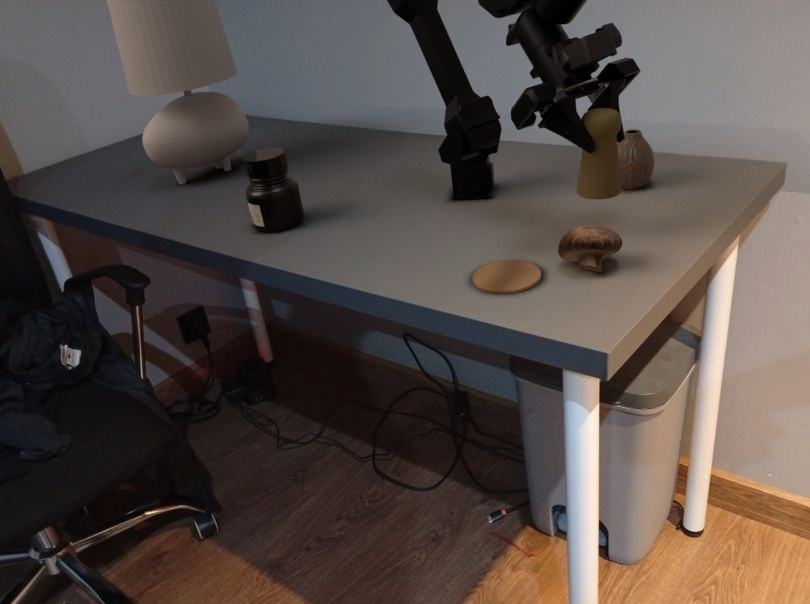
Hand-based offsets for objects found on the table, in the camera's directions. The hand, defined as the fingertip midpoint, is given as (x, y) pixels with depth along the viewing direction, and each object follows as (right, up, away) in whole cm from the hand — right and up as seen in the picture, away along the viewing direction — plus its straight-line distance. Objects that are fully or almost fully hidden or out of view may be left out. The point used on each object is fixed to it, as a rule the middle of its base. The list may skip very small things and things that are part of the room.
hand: (607, 146), depth 96 cm
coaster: (-13, -17, +1) cm, 22 cm away
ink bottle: (-48, -5, +30) cm, 57 cm away
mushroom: (-2, -16, +1) cm, 16 cm away
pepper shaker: (0, -5, +5) cm, 7 cm away
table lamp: (-69, +11, +61) cm, 92 cm away
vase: (+10, 0, +23) cm, 25 cm away
